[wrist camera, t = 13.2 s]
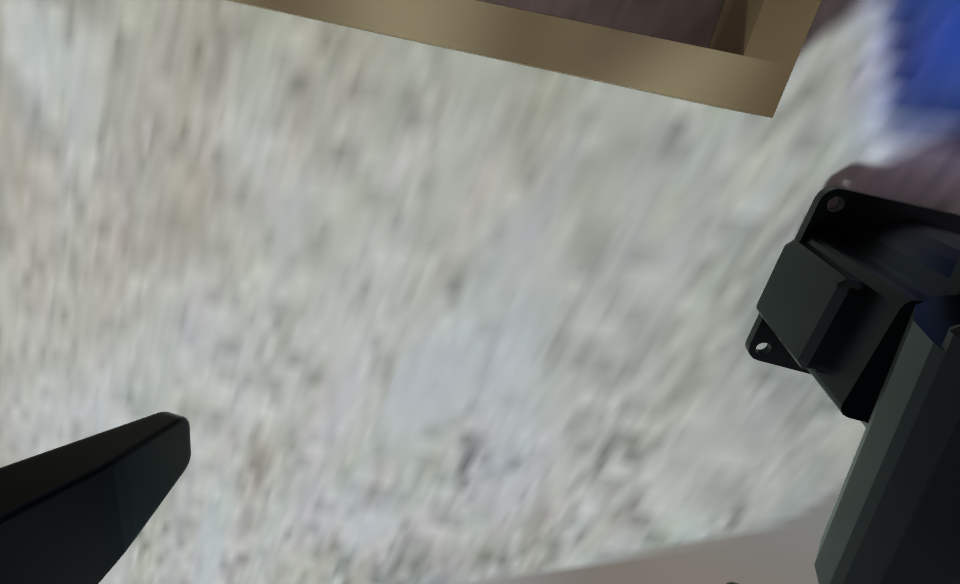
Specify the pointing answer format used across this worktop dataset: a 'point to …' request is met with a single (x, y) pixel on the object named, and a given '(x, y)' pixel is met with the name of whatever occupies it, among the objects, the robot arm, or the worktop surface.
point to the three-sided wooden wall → (599, 44)
